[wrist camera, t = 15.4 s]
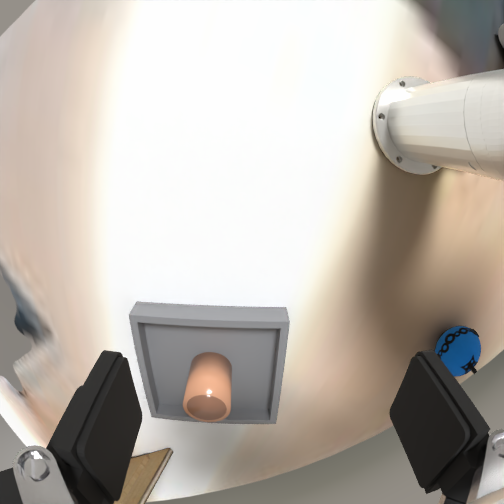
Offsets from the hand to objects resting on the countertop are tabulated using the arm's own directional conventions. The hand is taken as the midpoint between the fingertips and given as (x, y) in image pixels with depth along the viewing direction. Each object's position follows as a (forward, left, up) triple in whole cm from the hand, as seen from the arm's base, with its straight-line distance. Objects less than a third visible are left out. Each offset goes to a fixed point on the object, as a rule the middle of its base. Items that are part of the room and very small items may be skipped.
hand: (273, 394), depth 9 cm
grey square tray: (+5, +23, -28) cm, 37 cm away
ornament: (-34, +20, -28) cm, 49 cm away
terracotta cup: (+5, +23, -27) cm, 36 cm away
